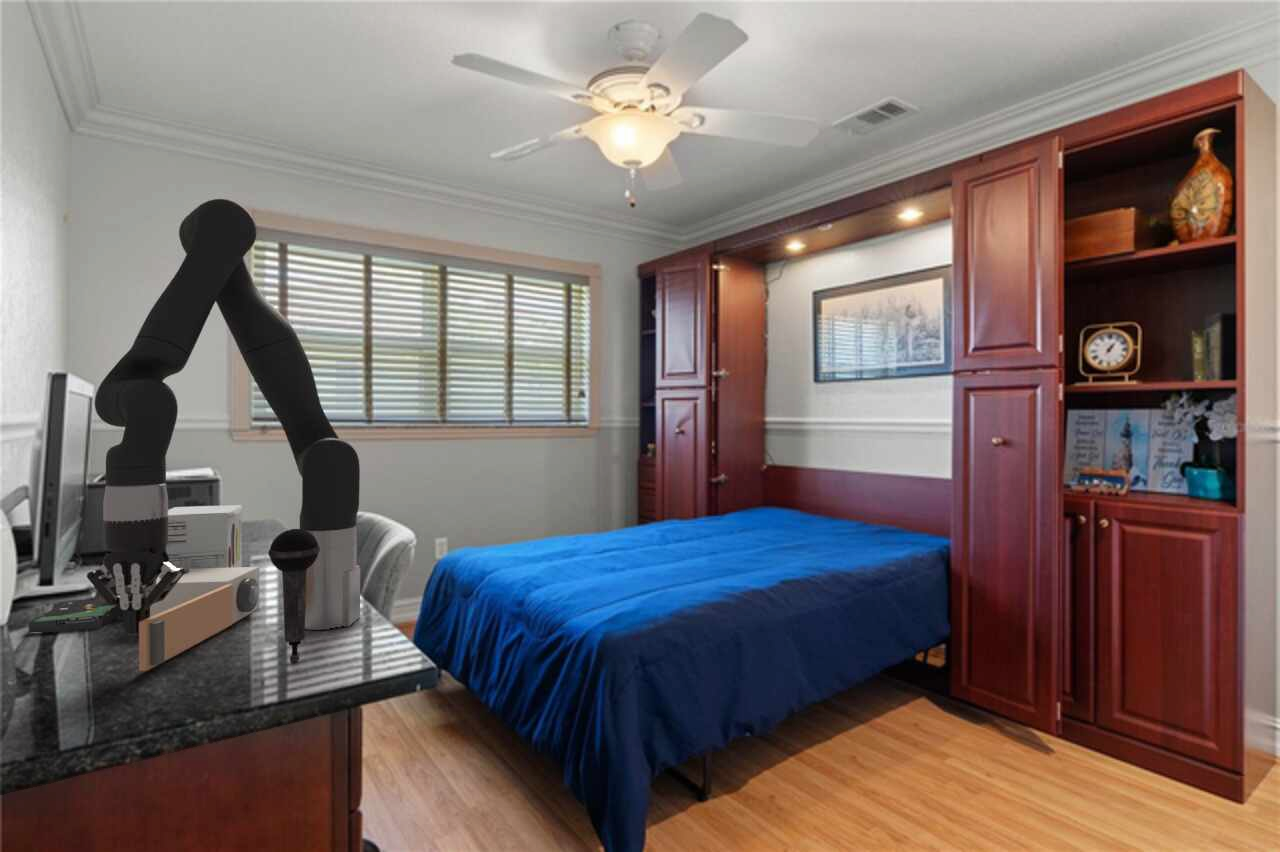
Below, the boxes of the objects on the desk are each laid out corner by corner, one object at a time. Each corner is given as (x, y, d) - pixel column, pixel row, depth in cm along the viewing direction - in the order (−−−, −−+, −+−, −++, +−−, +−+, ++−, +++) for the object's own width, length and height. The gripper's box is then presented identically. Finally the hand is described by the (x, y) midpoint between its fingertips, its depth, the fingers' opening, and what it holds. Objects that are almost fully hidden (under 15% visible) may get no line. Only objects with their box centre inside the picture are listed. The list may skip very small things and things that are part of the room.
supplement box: (229, 602, 132) (228, 512, 132) (149, 609, 127) (149, 516, 127) (244, 583, 148) (243, 503, 148) (173, 589, 143) (173, 506, 143)
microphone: (284, 674, 93) (284, 534, 93) (258, 665, 97) (258, 530, 97) (329, 659, 99) (329, 527, 99) (303, 651, 102) (303, 524, 102)
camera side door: (227, 624, 115) (226, 584, 115) (238, 624, 115) (238, 584, 115) (139, 670, 93) (139, 621, 93) (153, 670, 93) (153, 621, 93)
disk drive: (66, 615, 125) (27, 637, 111) (66, 600, 125) (27, 621, 111) (132, 609, 129) (102, 630, 115) (132, 595, 129) (102, 614, 115)
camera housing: (269, 607, 127) (269, 562, 127) (238, 626, 116) (238, 576, 116) (171, 610, 125) (171, 564, 125) (129, 630, 113) (129, 579, 113)
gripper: (199, 511, 100) (199, 625, 100) (110, 512, 99) (110, 626, 99) (164, 518, 92) (164, 641, 92) (68, 519, 92) (68, 642, 92)
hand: (136, 633), depth 96 cm, fingers closed
